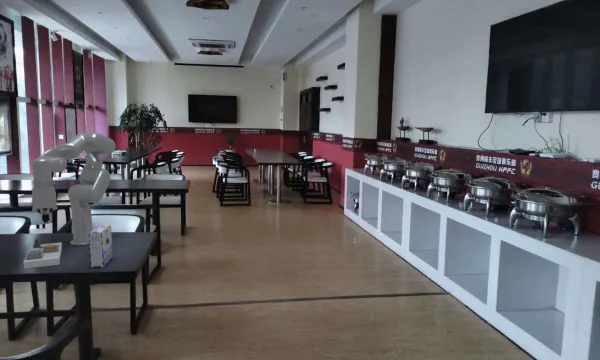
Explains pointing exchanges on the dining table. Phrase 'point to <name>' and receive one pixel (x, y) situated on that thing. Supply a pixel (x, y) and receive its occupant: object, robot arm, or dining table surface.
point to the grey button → (34, 251)
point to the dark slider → (37, 243)
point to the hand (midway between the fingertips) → (46, 222)
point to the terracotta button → (51, 246)
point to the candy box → (100, 245)
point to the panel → (44, 257)
